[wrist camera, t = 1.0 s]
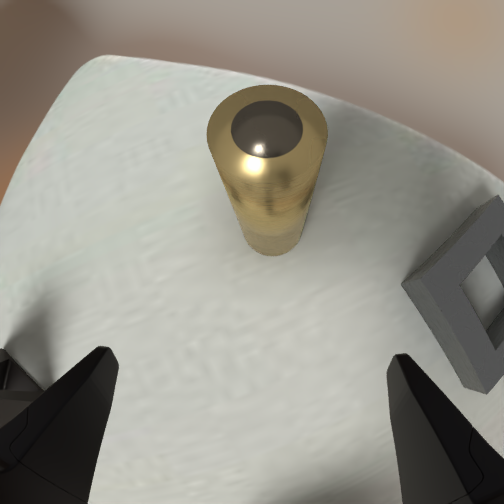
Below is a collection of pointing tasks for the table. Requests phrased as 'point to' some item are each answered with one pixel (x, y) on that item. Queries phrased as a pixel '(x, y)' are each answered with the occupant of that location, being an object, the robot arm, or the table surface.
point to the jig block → (464, 297)
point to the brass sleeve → (268, 161)
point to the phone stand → (14, 388)
